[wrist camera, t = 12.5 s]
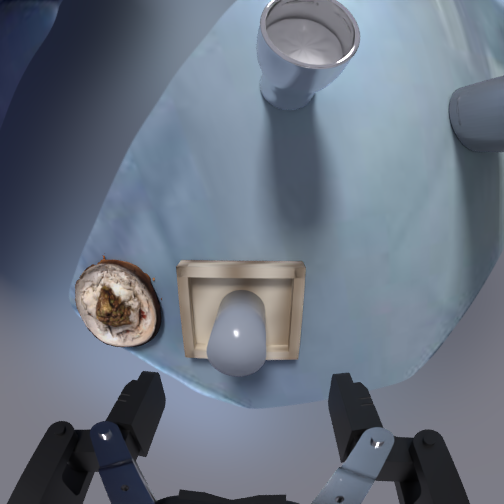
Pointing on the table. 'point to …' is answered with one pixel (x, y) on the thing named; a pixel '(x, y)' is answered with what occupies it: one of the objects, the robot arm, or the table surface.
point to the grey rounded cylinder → (238, 334)
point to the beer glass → (303, 49)
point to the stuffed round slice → (118, 303)
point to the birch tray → (242, 278)
